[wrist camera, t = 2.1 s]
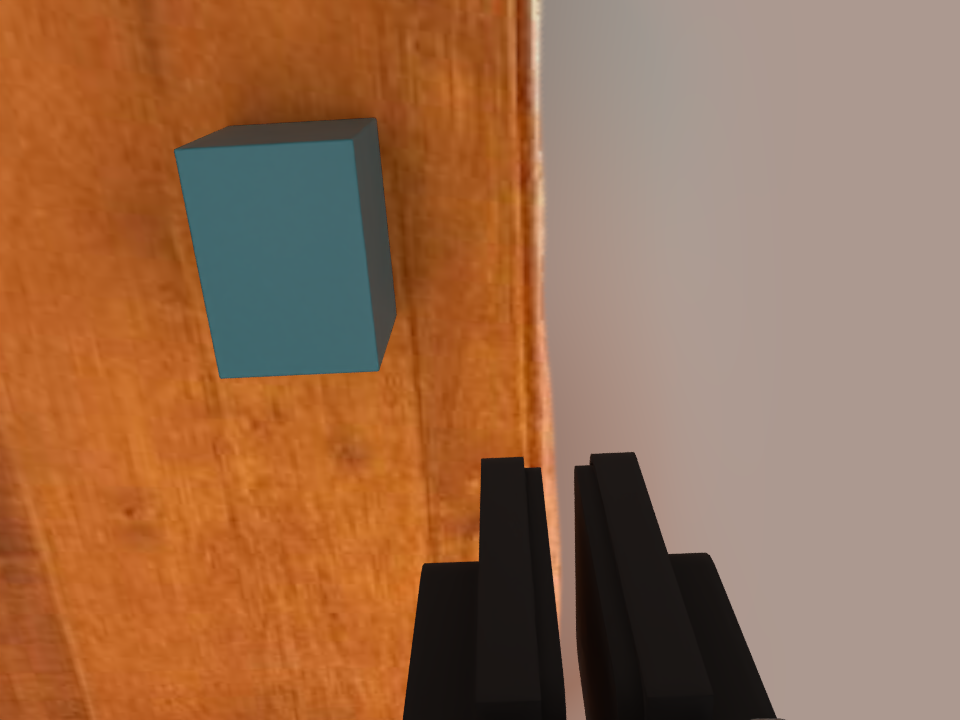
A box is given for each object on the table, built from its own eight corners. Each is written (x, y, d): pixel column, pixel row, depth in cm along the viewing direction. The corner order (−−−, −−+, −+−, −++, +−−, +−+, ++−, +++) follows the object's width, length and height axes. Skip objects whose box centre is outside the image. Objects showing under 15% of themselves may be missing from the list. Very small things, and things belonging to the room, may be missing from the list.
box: (376, 117, 27) (352, 138, 22) (396, 316, 30) (379, 372, 25) (227, 125, 27) (172, 148, 22) (261, 322, 30) (218, 379, 25)
